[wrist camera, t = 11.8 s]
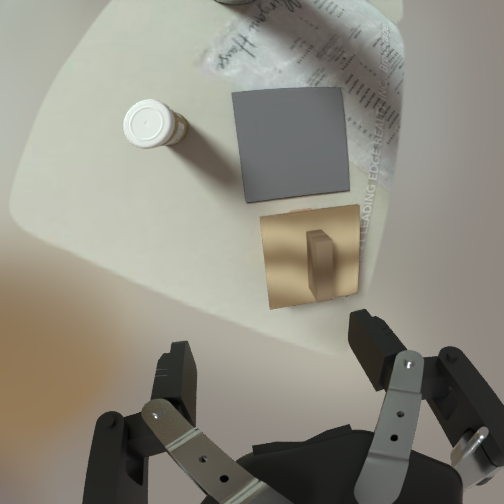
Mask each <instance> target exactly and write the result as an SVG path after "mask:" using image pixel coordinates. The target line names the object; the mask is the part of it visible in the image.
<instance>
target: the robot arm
mask: <svg viewBox="0 0 504 504" xmlns="http://www.w3.org/2000/svg"><path fill="white" fill-rule="evenodd" d="M216 1H218V2H221V3H225V4H245V3H249V2H252V1H254V0H216ZM348 341H349V345H350V347H351V349H352V350H353V352H354V354H355V356H356V357H357V359H358V361H359V363H360V364H361V366H362V368H363V369H364V371H365V373H366V375H367V376H368V378H369V380H370V382H371V383H372V385H373V387H374V388H375V390H376V391H380V390H383V389H384V390H385V392H386V394H385V398H384V401H383V405H382V408H381V411H380V415H379V418H378V421H377V424H376V427H375V430H374V432H371V431H366V430H352V429H351V427H350V424H348V425H345V426H341V427H337V428H334V429H330V430H327V431H325V432H323V433H321V434H319V435H317V436H315V437H313V438H311V439H308V440H306V441H303V442H272V443H266V444H260V445H254V446H252V448H253V452H251V453H249V454H247V455H245V456H243V457H241V458H239V459H238V460H237V461H234V460H233V459H232V458H230V457H229V456H228V455H227V454H226V453H225V452H224V451H222V450H221V449H220V448H219V447H218V446H217V445H216V444H215V443H214V442H213V441H211V440H210V439H209V438H208V437H207V436H206V435H205V434H204V433H203V432H202V431H201V430H199V429H195V427H196V390H197V369H196V364H195V361H194V358H193V355H192V352H191V349H190V346H189V343H188V341H179V342H173V343H172V344H171V350H170V353H164V354H163V355H162V356H161V357H160V359H159V360H158V363H157V368H156V369H157V371H156V374H155V379H154V384H153V389H152V395H151V400H150V401H149V402H147V403H146V404H145V405H144V406H143V408H142V411H141V412H139V413H136V414H133V415H130V416H126V417H123V416H122V415H121V414H120V413H118V412H115V411H110V412H106V413H104V414H102V415H101V416H100V417H99V418H98V420H97V422H96V426H95V431H94V435H93V440H92V445H91V451H90V456H89V461H88V468H87V473H86V480H85V487H84V494H83V502H82V504H148V460H149V456H153V455H156V454H159V453H163V452H167V453H168V454H169V455H170V457H171V458H172V459H173V460H174V461H175V462H176V464H177V465H178V466H179V467H180V468H181V469H182V470H183V471H184V472H185V473H186V474H187V476H188V477H189V478H190V479H191V480H192V481H193V482H194V483H195V484H196V486H197V487H198V488H199V489H200V490H201V491H202V492H203V493H204V494H205V495H206V498H205V499H204V500H203V501H202V503H201V504H463V503H462V499H463V498H462V497H463V492H465V491H466V490H468V489H470V488H471V487H473V486H474V485H483V484H485V483H487V482H488V481H489V480H490V479H491V478H493V477H494V476H495V475H496V474H497V473H498V472H499V471H501V470H502V469H503V468H504V405H503V404H502V403H501V401H500V400H499V398H498V397H497V395H496V394H495V393H494V391H493V390H492V389H491V387H490V386H489V385H488V383H487V382H486V381H485V379H484V378H483V377H482V376H481V375H480V373H479V372H478V370H477V369H476V368H475V367H474V365H473V364H472V363H471V362H470V361H469V359H468V358H467V357H466V356H465V354H464V353H463V352H462V351H461V350H460V349H458V348H456V347H452V346H448V347H444V348H442V349H441V350H440V352H439V355H438V356H434V357H422V356H421V354H419V353H418V352H416V351H412V350H407V349H406V347H405V346H404V345H403V344H402V342H401V341H400V340H399V339H398V337H397V336H396V335H395V334H394V333H393V331H392V330H391V329H390V328H389V326H388V325H387V324H386V322H385V321H384V320H382V319H380V318H379V317H377V316H374V317H372V316H371V315H370V314H369V312H368V311H367V310H366V309H362V310H358V311H354V312H351V313H350V319H349V331H348ZM424 399H426V401H427V402H428V404H429V406H430V407H431V409H432V411H433V413H434V414H435V416H436V418H437V420H438V421H439V423H440V425H441V426H442V428H443V430H444V432H445V434H446V436H447V438H448V439H449V441H450V443H451V445H452V447H453V449H452V451H451V457H450V458H451V465H452V466H450V465H448V464H446V463H443V462H441V461H438V460H435V459H433V458H430V457H428V456H426V455H423V454H421V453H418V452H416V451H414V450H412V449H411V448H412V444H413V440H414V435H415V431H416V426H417V421H418V416H419V410H420V404H421V400H424Z"/></svg>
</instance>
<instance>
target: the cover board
mask: <svg viewBox="0 0 504 504" xmlns="http://www.w3.org/2000/svg"><path fill="white" fill-rule="evenodd" d="M260 225H261V234H262V243H263V252H264V260H265V269H266V279H267V288H268V297H269V306H270V310H271V309H277V308H283V307H288V306H294V305H299V304H304V303H310V302H315V301H317V302H322V301H327V300H332V298H335V297H339V296H344V295H349V294H353V293H357V289H358V271H359V239H360V205H358V204H355V205H346V206H338V207H330V208H321V209H313V210H306V211H298V212H290V213H283V214H276V215H269V216H262V217H260Z"/></svg>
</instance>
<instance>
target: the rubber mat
mask: <svg viewBox="0 0 504 504" xmlns="http://www.w3.org/2000/svg"><path fill="white" fill-rule="evenodd" d="M232 100H233V108H234V115H235V123H236V131H237V138H238V146H239V153H240V161H241V169H242V176H243V184H244V192H245V199H246V203H248V202H255V201H262V200H269V199H277V198H285V197H292V196H301V195H309V194H318V193H326V192H336V191H345V190H349V172H348V156H347V142H346V131H345V120H344V111H343V102H342V94H341V88H336V87H306V88H280V89H264V90H253V91H243V92H234V93H232Z"/></svg>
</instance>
